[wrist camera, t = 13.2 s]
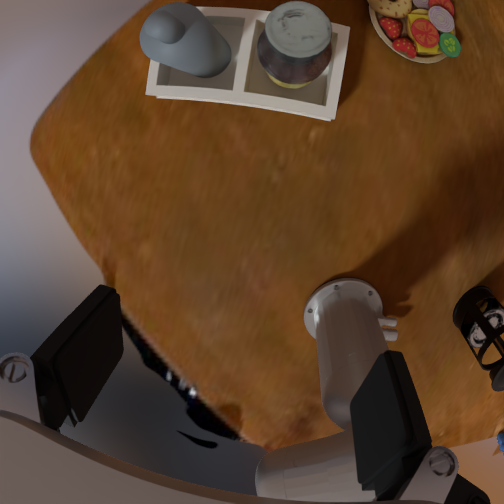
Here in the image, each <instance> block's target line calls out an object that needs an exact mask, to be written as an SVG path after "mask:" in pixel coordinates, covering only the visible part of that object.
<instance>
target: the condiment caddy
mask: <svg viewBox="0 0 504 504" xmlns="http://www.w3.org/2000/svg"><path fill="white" fill-rule="evenodd" d="M270 12H271V11H263V10H253V9H242V8H226V7H195V6H193V5H191V4H188V3H182V2H177V3H170V4H167V5H164V6H162V7H160V8H158V9H157V10H155V11H154V12H153V13H152V14H151V15H150V16H149V17H148V18H147V19H146V21H145V22H144V24H143V26H142V29H141V32H140V45H141V48H142V50H143V52H144V53H145V55H146V56H147V57H149V58H150V59H151V61H150V67H149V74H148V80H147V88H146V95H154V96H157V98H167V99H184V100H197V101H208V102H218V103H227V104H235V105H243V106H250V107H257V108H264V109H270V110H276V111H282V112H287V113H293V114H298V115H303V116H308V117H313V118H317V119H322V120H326V121H331V119H335V116H336V110H337V105H338V99H339V94H340V88H341V83H342V77H343V71H344V65H345V59H346V52H347V46H348V39H349V32H350V27H348V26H344V25H340V24H336V23H332V22H331V25H332V38H331V46H332V55H331V59H330V62H329V64H328V66H327V67H326V69H325V70H324V71H323V73H322V74H321V75H320V76H319V77H317V78H316V79H315V80H313V81H312V82H311V83H309V84H308V85H306V86H304V87H301V88H298V89H288V88H284V87H281V86H279V85H277V84H276V83H274V82H273V81H272V80H271V79H270V78H269V76H268V75H267V73H266V72H265V70H264V68H263V67H262V65H261V63H260V61H259V58H258V55H257V42H258V38H259V36H260V34H261V33H262V31H263V30H264V29H265V21H266V18H267V17H268V15H269V14H270Z"/></svg>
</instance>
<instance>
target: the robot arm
mask: <svg viewBox="0 0 504 504" xmlns="http://www.w3.org/2000/svg"><path fill="white" fill-rule="evenodd" d="M382 309H383V306H382V301H381V298H380V296H379V294H378V292H377V290H376V289H375V288H374V287H373V286H372V285H370V284H369V283H367V282H365V281H363V280H360V279H355V278H341V279H336V280H333V281H330V282H328V283H326V284H324V285H322V286H321V287H319V288H318V289H317V290H315V292H314V293H313V294H312V295H311V296H310V298H309V299H308V301H307V303H306V305H305V308H304V322H305V326H306V328H307V330H308V332H309V333H310V334H311V335H312V336H313V337H314V338H315V339H316V341H317V351H318V362H319V373H320V384H321V398H322V404H323V408H324V410H325V412H326V414H327V415H328V417H329V418H330V419H331V420H332V421H333V422H334V423H335V424H336V425H338V426H339V427H340V428H342V429H343V430H345V431H343V432H340V433H337V434H334V435H331V436H328V437H324V438H321V439H317V440H312V441H308V442H304V443H299V444H295V445H291V446H286V447H282V448H279V449H276V450H273V451H271V452H269V453H268V454H266V455H265V456H264V457H263V458H262V459H261V461H260V462H259V464H258V467H257V470H256V490H257V495H258V496H251V495H245V494H239V493H234V492H228V491H223V490H218V489H213V488H209V487H204V486H200V485H196V484H192V483H188V482H185V481H181V480H177V479H174V478H170V477H167V476H164V475H160V474H157V473H154V472H151V471H148V470H145V469H142V468H139V467H137V466H134V465H131V464H128V463H126V462H123V461H120V460H118V459H116V458H113V457H111V456H108V455H106V454H104V453H101V452H99V451H97V450H94V449H92V448H90V447H87V446H85V445H83V444H81V443H79V442H77V441H74V440H72V439H70V438H68V437H66V436H64V435H62V434H61V432H60V428H59V427H61V425H62V424H63V422H64V423H66V424H68V425H70V426H72V427H75V425H76V424H77V422H82V421H83V420H84V418H85V416H86V415H87V413H88V411H89V409H90V408H91V406H92V404H93V403H94V401H95V399H96V398H97V396H98V394H99V393H100V391H101V390H102V388H103V386H104V384H105V383H106V381H107V380H108V378H109V376H110V375H111V373H112V372H113V370H114V369H115V367H116V365H117V364H118V362H119V361H120V359H121V357H122V354H123V350H124V347H123V337H122V323H121V306H120V295H119V294H117V293H116V290H115V289H114V288H111V287H108V286H105V285H99V286H98V287H97V288H96V289H95V290H94V291H93V292H92V293H91V294H90V295H89V296H88V297H87V298H86V299H85V300H84V301H83V302H82V303H81V304H80V305H79V306H78V307H77V308H76V309H75V310H74V311H73V312H72V313H71V314H70V315H69V316H68V317H67V318H66V319H65V320H64V321H63V322H62V323H61V324H60V325H59V326H58V327H57V328H56V329H55V331H53V333H52V334H51V335H50V336H49V337H48V338H47V339H46V340H45V341H44V342H43V344H42V345H41V346H40V347H39V348H38V349H37V350H36V352H35V353H34V354H33V355H32V356H31V357H30V358H29V357H27V356H26V355H25V354H21V353H10V354H7V355H5V356H3V357H2V358H1V359H0V504H490V499H489V497H488V496H487V494H486V493H485V492H483V491H482V490H481V489H479V488H478V487H476V486H475V485H473V484H472V483H471V482H469V481H468V480H466V479H465V478H463V477H462V476H461V475H459V474H458V473H457V472H458V468H459V465H458V460H457V457H456V456H455V454H454V453H453V452H452V451H451V450H450V449H448V448H446V447H444V446H435V447H433V448H432V445H431V442H432V440H431V436H430V433H429V430H428V426H427V423H426V420H425V417H424V414H423V410H422V407H421V404H420V401H419V398H418V395H417V392H416V389H415V387H414V384H413V381H412V378H411V375H410V373H409V370H408V367H407V364H406V362H405V359H404V357H403V354H402V353H401V352H398V351H391V350H389V348H388V345H387V342H386V340H389V341H395V340H396V339H397V336H398V331H397V329H388V328H386V329H384V328H381V326H383V325H387V326H393V327H394V326H396V324H397V319H396V318H392V317H384V315H382Z"/></svg>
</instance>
